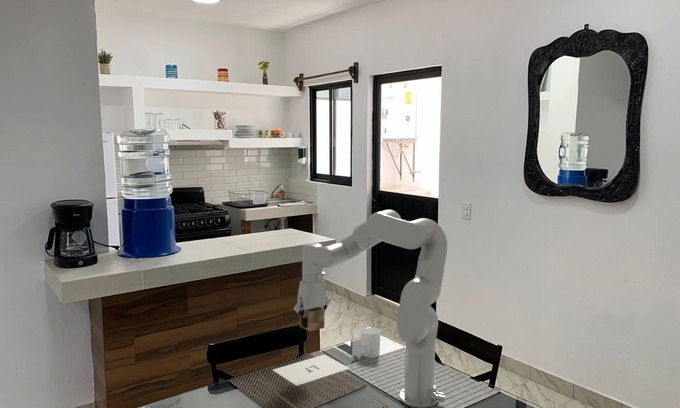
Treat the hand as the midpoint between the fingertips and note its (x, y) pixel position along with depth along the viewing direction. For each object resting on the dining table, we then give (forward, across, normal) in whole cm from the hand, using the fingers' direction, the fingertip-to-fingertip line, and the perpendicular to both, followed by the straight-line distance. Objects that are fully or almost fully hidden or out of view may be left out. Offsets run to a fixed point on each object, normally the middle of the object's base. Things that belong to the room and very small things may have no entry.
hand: (312, 324), depth 192 cm
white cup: (+18, -28, +2) cm, 33 cm away
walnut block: (+1, 0, 0) cm, 1 cm away
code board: (+18, 0, 0) cm, 18 cm away
